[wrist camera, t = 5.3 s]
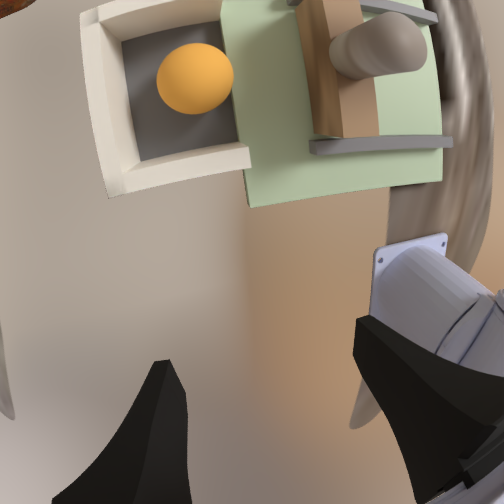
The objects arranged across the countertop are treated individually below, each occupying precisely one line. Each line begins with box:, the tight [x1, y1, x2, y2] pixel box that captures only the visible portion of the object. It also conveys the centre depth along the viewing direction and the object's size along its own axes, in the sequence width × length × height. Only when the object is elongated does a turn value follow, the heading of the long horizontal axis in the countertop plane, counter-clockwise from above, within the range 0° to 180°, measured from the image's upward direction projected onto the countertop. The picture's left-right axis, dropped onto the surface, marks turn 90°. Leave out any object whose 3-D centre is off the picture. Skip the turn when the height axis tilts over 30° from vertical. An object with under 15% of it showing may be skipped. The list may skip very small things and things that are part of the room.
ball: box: [157, 43, 234, 114], centre depth 13 cm, size 4×4×4 cm
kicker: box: [295, 0, 427, 138], centre depth 11 cm, size 8×2×8 cm, turn 8°
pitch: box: [80, 0, 453, 208], centre depth 14 cm, size 16×22×4 cm
